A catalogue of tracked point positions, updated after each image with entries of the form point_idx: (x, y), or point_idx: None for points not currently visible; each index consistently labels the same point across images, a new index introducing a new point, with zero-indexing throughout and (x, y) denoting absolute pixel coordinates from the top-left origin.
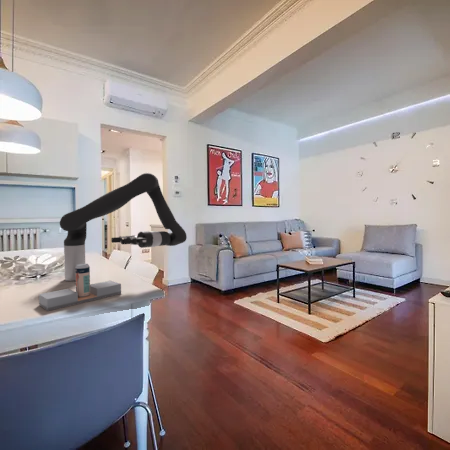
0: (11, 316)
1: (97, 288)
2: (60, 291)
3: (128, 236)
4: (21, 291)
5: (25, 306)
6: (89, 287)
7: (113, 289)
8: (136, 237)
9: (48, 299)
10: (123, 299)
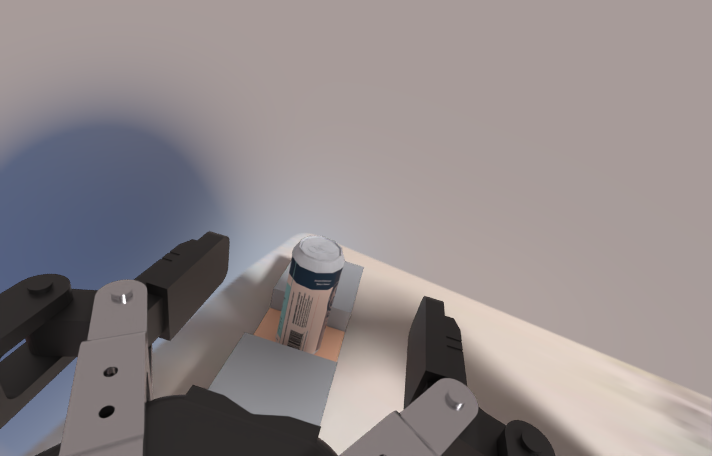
0: None
1: (247, 335)
2: (338, 289)
3: (348, 450)
4: (545, 353)
5: (376, 281)
6: (283, 328)
7: None
8: (71, 413)
9: None
10: None
